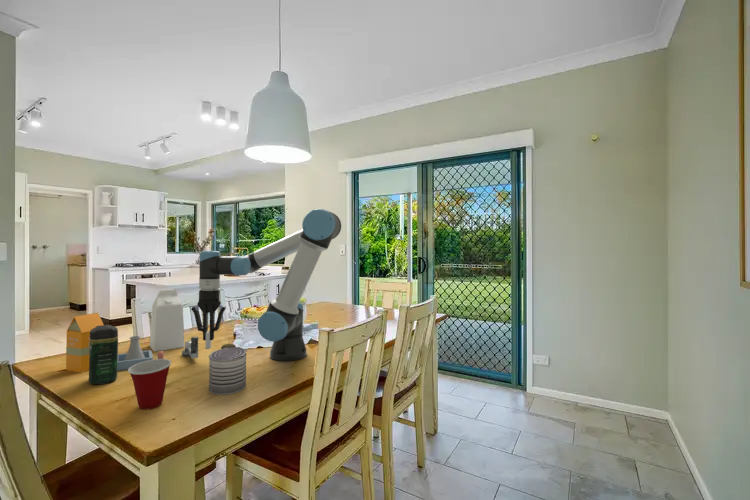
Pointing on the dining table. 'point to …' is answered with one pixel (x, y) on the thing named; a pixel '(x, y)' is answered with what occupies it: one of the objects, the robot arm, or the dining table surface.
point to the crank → (192, 347)
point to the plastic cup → (150, 382)
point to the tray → (128, 363)
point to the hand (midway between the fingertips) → (208, 348)
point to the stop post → (161, 355)
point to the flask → (134, 349)
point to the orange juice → (80, 341)
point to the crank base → (185, 353)
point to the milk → (167, 321)
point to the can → (227, 371)
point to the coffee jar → (103, 354)
